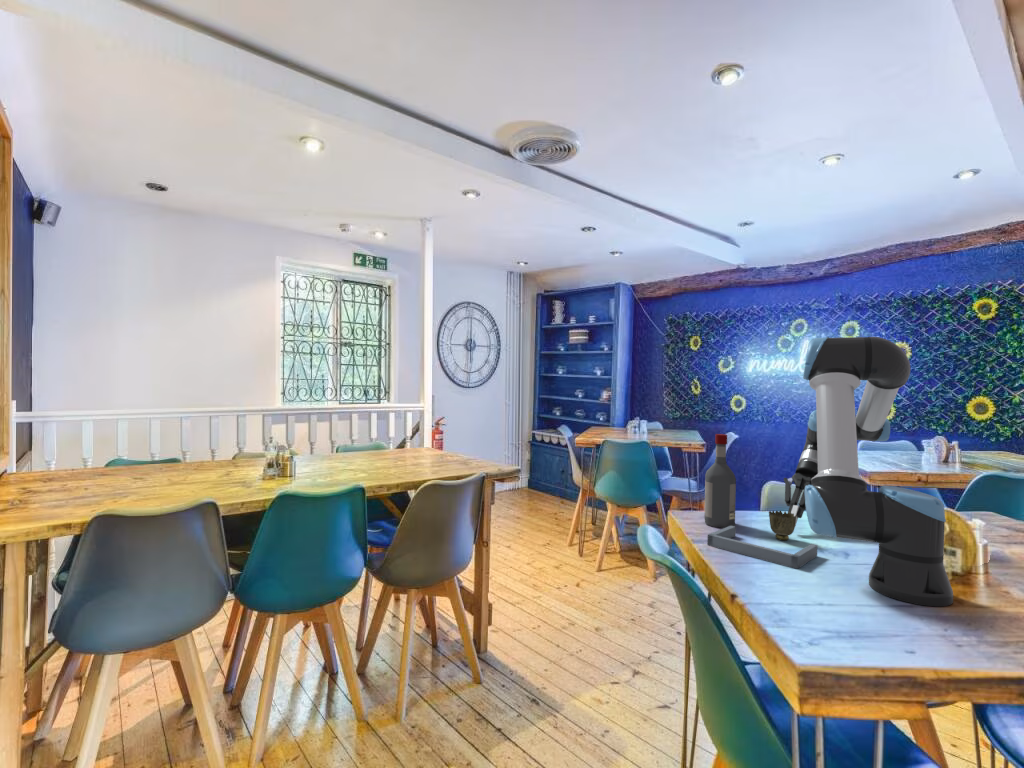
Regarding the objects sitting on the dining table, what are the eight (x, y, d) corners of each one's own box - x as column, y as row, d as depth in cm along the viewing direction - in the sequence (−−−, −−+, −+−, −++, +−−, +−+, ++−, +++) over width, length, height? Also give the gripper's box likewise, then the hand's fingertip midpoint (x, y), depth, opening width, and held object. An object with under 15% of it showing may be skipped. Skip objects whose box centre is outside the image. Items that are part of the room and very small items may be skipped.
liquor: (705, 526, 166) (707, 435, 166) (704, 519, 175) (706, 432, 174) (735, 529, 163) (737, 436, 163) (732, 522, 172) (734, 434, 171)
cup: (800, 544, 149) (800, 517, 149) (773, 542, 150) (773, 515, 150) (790, 536, 156) (790, 510, 156) (764, 534, 158) (765, 509, 158)
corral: (817, 556, 139) (817, 545, 139) (797, 568, 129) (797, 557, 129) (730, 535, 157) (730, 525, 157) (707, 544, 147) (707, 534, 147)
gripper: (835, 476, 167) (817, 536, 156) (792, 470, 177) (772, 526, 165) (830, 461, 163) (811, 522, 152) (787, 456, 173) (766, 513, 162)
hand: (791, 524), depth 159 cm, fingers closed
